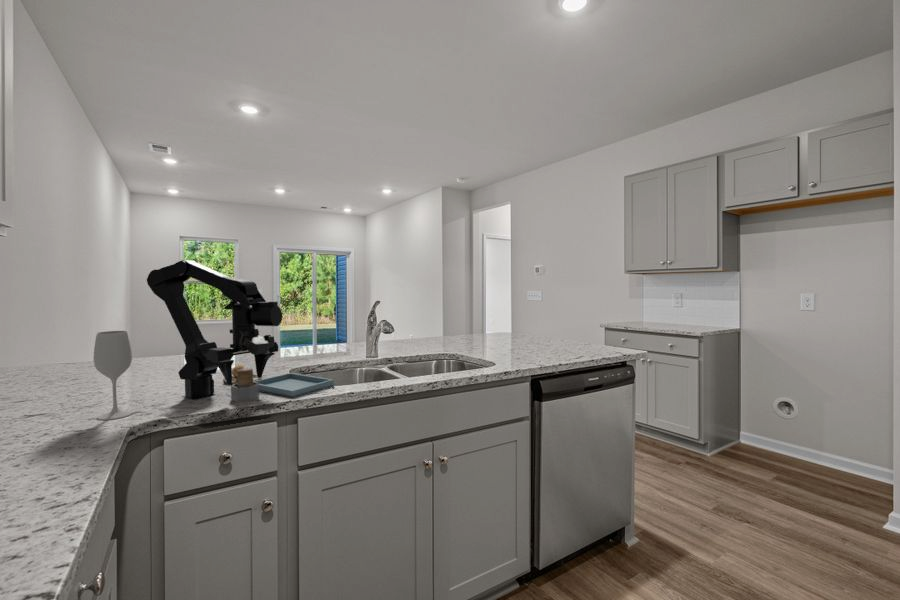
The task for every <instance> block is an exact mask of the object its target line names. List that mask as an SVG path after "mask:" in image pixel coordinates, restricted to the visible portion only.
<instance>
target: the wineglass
mask: <svg viewBox="0 0 900 600" xmlns="http://www.w3.org/2000/svg"><path fill="white" fill-rule="evenodd" d="M94 341H95V342H94V348H93V364H94V367H95V369H96V370H97V372H99V373H100V374H101V375H103V376H105V377H106V378H108V379H109V380H110V381H111V383H112V385H111V386H112V409H111V411H108V412H105V413H102V414H100V415H97V417H96V419H97V420H99V421H110V420H111V421H112V420H119V419H123V418H127V417H129V416H131V415H133V414H134V411H133V410H131V409H130V410H129V409H123V410H121V409H119V406H118V401H117V397H118V396H117V380H118V379H119V378H120V377H121V376H122V375H123V374H125V372H127V370H128V369H129V368H130V366H131V364H132V362H133V361H132V360H133V356H132V355H133V353H132V345H131V341H130V339H129V335H128V331H127V330H109V331H108V330H107V331H99V332H97V333H96V336H95V340H94Z"/></svg>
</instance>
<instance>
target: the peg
mask: <svg viewBox="0 0 900 600" xmlns="http://www.w3.org/2000/svg"><path fill="white" fill-rule="evenodd" d="M253 375H254V369H253V368H243V369H240V370H237V387H248V386H253V381H254V378H253Z"/></svg>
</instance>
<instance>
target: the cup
mask: <svg viewBox="0 0 900 600" xmlns="http://www.w3.org/2000/svg"><path fill="white" fill-rule="evenodd" d="M230 398H231V399H230V400H231V402H235V403H236V402H237V403H243V402H252V401H255V400H258V399H259V398H260V391H259V382H253V386H248V387H237V383H236V384H233V385H231V386H230Z"/></svg>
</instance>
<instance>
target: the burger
mask: <svg viewBox="0 0 900 600" xmlns="http://www.w3.org/2000/svg"><path fill="white" fill-rule="evenodd" d="M240 369H245V365H243V364H239V365H235V366H234V367H232V384H231V386H232V385H233V384H236V383H237V370H240ZM254 379H255V380H254ZM261 379H263V376H262V377H261V378H258V376H257V374H253V381H257V380H261ZM222 382H223V384H222V385H223V386H226V385H229V384H228V383H227V381H226V379H225V378H224V379H223V380H222Z"/></svg>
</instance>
